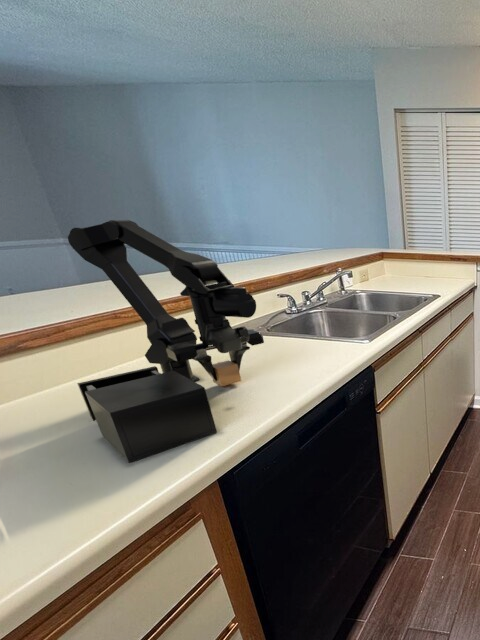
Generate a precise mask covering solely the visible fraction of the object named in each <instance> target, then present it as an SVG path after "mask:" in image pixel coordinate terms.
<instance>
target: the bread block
mask: <svg viewBox="0 0 480 640" xmlns="http://www.w3.org/2000/svg"><path fill="white" fill-rule="evenodd" d="M212 365H213V368H214V370H215V373H216V376H217V381H214V380H213V379H212V382H213V383H214V384H216V385H217V386H220V387H225V386H228V385H232V384H236V383H239V382H242V378H241V373H240V370H239V369H238V365H237V364H236V363H234V362H231V360H230V359H229V360H224V361H220V362H216V363H212Z"/></svg>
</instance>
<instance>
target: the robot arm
mask: <svg viewBox="0 0 480 640" xmlns="http://www.w3.org/2000/svg"><path fill="white" fill-rule="evenodd" d="M67 241H68V244H69V245H70V247H71V248H72V249H73V250H74V251H75V252H76V253H77V254H78V255H79V256H80V258H82V259H83V260H84V261H85V262H88V263H89V264H91V265H93V266H95V267H97V268H98V269H100V270H102V271H103V273H105V275H106V276H107V277H108V278H109V280H110V281H111V282H112V284H113V285H114V286H115V288H116V289H117V290H118V291H119V292H120V294H121V295H122V296H123V298H124V299H125V300H126V302H128V303H129V305H130V306H131V307H132V309H133V310H134V312H135V313H136V314H137V315H138V316H139V318H141V320H142V321H143V322H144V324H145V325H146V338H147V340H148V341H149V343H150V346H149V348H148V349H147V351H146V352H145V354H144V357H145V358H146V360H147V362H148V363H149V364H153V365H154V364H155V365H156V364H157V365H160V369H161V372H162V373H166V372H170V371H175V372H177V373H179V374H181V375H183V376H184V377H186V378H188V379H190V380H192V381H194V382H195V383H196V382H198V381H200V377H199V376H196V375H194V372H193V370H192V366H191V363H190V360H193V361H195V362H198V363H199V364H200V366H202V368H203V369H204V370H205V371H206V372H207V374H208V375H209V376H210V378H211V380H212V381H213V380H214V381H217V376H216V373H215V370H214V368H213V365H212V364H213V363H212V356H211V355H209V354H208V352H207V351H211V350H217V351H218V353H221V354H228V355H229V360H230V361H231V362H234V363H236V364H237V365H238V369H239V371H240V369H241V364H242V359H243V356H244V354H245V353H246V352H247V351H249V350H250V349H251V347H250V346H258V345H261V344H262V345H263V344H264V343H265V339H264V336H263V334H262V333H261V332H259V331H258V330H254V329H250V328H249V329H248V328H247V327H246V326H238V327H235V328H233V327H232V326H231V323H230V320H229V319H227V317H229V318H244V319H246V318H248V319H249V318H251V317H253V316H254V315H255V313H256V311H257V302H256V299H254V296H253V295H252V294H251V293H249V292H247V289H246V287H245V286H236V287H235V285H234V284H233V282H232V281H231V280H230V279H229V278H228V277H227V276H226V275H225V273H224V272H223V271H222V270H221V269H220V267H218V263H217V262H216V261H215V260H213V259H211V258H209V257H206V256H203V255H200V254H198V253H193V252H188V251H185V250H182V249H181V248H178V247H177V246H175V245H174V244H171V243H169V242H167V240H166V241H165V240H163V239H162V238H160V237H158V236H157V235H155V234H153V233H152V232H150V231H148V230H146V229H144V228H143V227H141V226H139V225H138V223H137V222H136V221H134V220H133V221H132V220H130V219H111V220H108V221H105V222H103V223H99V224H95V225H92V226H87V227H72V228H71V229H70V231H69V234H68V235H67ZM126 245H127V246H129V247H130V248H132V249H134V250H136V251H137V252H139V253H141V254H142V255H144V256H146V257H148V258H150V259H152V260H153V261H155V262H157V263H158V264H161V265H163V266H164V267H165V268H167V269H168V271H169V273H170V275H171V276H172V277H173V278H175V279H176V280H177V281H179V283H181V284H182V285H184V286H185V287H184V289H183V290H182V291H181V292H180V293H179V294H180V296H181V297H189V299H190V304H191V307H192V311H193V314H194V317H195V319H194V324H195V325H197V329H198V332H199V335H200V336H199V337H197V335H196V333H195V332H196V330H194V329H193V328H192V327H191V326H190V324H189V322H188V321H187V319H185V318H184V317H178V318H176V317H174V316H172V315H170V314H169V313H168V311H167V310H166V309H165V307H164V306H163V305H162V304H161V302H160V301H159V300H158V298H157V297H156V296H155V294H154V293H153V292H152V291H151V289H150V288H149V287H148V286H147V284H146V283H145V282H144V281H143V279H142V278H141V277H140V275H139V274H138V273H137V271H136V270H135V269H134V267H133V266H132V265H131V263H130V262H129V261H128V250H127V247H126ZM198 338H199V341H200V343H197V341H198ZM248 345H250V346H248Z"/></svg>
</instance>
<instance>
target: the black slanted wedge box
mask: <svg viewBox="0 0 480 640" xmlns="http://www.w3.org/2000/svg"><path fill="white" fill-rule="evenodd" d="M85 393H86V395H87V398H88V401H89V403H90V406H91V408H92V411H93V413H94V416H95V418H96V420H95V421H96V423H97V426H98V428H99V431H100V433H101V436H102V438H103V439H104V440H105V441H106V442H107V443H108V444H109V445H110V447H112V448H113V449H114V450H115V451H116V452H117V453H118V454H119V455H120V456H121V457H122V458H123V459H124V460H125V461H126V462H127V463H128V464H131V463H135V462H137V461H140V460H142V459H146V458H148V457H151V456H154V455H158V454H160V453H163V452H165V451H168V450H172V449H174V448H177V447H180V446H183V445H185V444H186V445H187V444H188V443H191V442H193V441H196V440H199V439H203V438H205V437H209V436H211V435H214V434H216V433H218V430H217V427H216V423H215V420H214V415H213V412H212V409H211V405H210V402H209V398H208V395H207V391H206V388H205V387H204V386H202V385H201V384H199V383H197V382H196V381H195V382H194V381H192V380H190V379H188V378H186V377H184V376H183V375H181V374H179V373H177V372H175V371H170V372H166V373H163V372H162V373H161V374H158V375H153V376H149V377H145V378H141V379H136V380H132V381H128V382H123V383H119V384H115V385H111V386H106V387H102V388H98V389H93V390H89V391H85Z"/></svg>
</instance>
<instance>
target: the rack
mask: <svg viewBox="0 0 480 640" xmlns="http://www.w3.org/2000/svg"><path fill="white" fill-rule="evenodd" d="M158 374H162V373H161V372H160V371H159V368H158V367H157V366H156V365H154V366H149V367H145V368H141V369H136V370H131V371H126V372H123V373H118V374H113V375H109V376H105V377H104V376H103V377H99V378H96V379H90V380H86V381H81V382H77V386H78V389H79V391H80V393H81V396H82V398H83V401H84V403H85V407H86V409H87V411H88V414H89V417H90V418H91V420H92V421H93V422H94V421H96V418H95V416H94V413H93V411H92V408H91V406H90V403H89V401H88V398H87V395H86V393H85V391H89V390H93V389H98V388H102V387H106V386H111V385H115V384H119V383H123V382H128V381H132V380H136V379H141V378H145V377H149V376H153V375H158Z"/></svg>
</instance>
